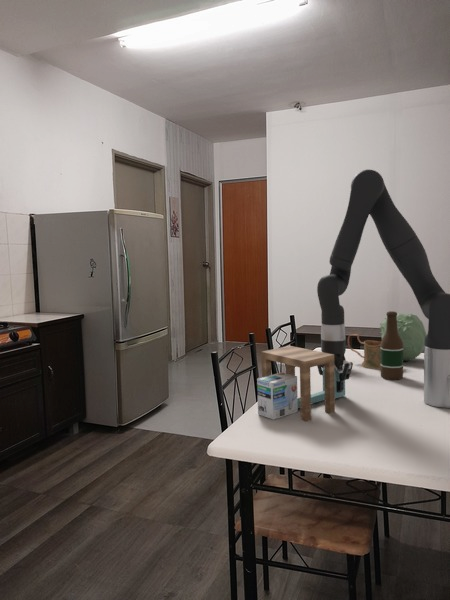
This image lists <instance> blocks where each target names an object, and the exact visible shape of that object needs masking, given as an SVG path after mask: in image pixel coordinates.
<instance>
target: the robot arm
mask: <svg viewBox="0 0 450 600" xmlns="http://www.w3.org/2000/svg"><path fill="white" fill-rule="evenodd" d="M386 186H387V185H386V184H385V181H384V178H383V176H382V174H381V173H379V172H378V171H376V170H374V169H363V170H361V171H359V172H357V173H356V174H355V175H354V177H353V178H352V180H351V182H350V193H349V200H348V205H347V208H346V213H345V216H344V219H343V222H342V225H341V227H340V230H339V232H338V235H337V236H336V240H335V243H334V245H333V248H332V250H331V254H330V257H329V264H330V265H331V268H330V272H329V274H328V275H327V274H326V275H322V277H320V279H319V281H318V283H317V288H316V290H317V291H316V293H317V298H318V302H319V307H320V309H321V327H320V344H321V345H320V349H321V350H320V352H324V353H329V354H334V370H335V374H336V379H337V381H336V386H337V392H338V393H340V392H342V391H343V390H344V380H345V381H347V380H349V379H350V376H351V372H352V370H353V367H354V366H353V365H354V363H353V362H352V361H347V359H346V355H345V353H346V350H347V349H346V341H347V340H346V339H347V338H346V327H345V309H344V306H343V305H341V303H340V296H342V295H343V294H345V292H346V290H347V289H348V286H349V283H350V278H351V273H352V266H353V263H354V260H355V258H356V256H357V253H358V249H359V247H360V243H361V240H362V236H363V233H364V229H365V226H366V223H367V221H368V217H369V216H370V217H371V218H372V219H371V220H373V222H374V224H375V228H376V230H377V232H378V235H379V237H380V239H381V240H380V241H382V244H383V246H384V247H385V248H384V249H386V251H387V253H388V255H389V257H390V258H391V260H392V261H393V263H394V264H395V266H396V268H397V269H398V271H399V272H400V273H401V275H402V276H403V278H404V279H405V281H406V283H408V285H409V286H410V288H411V291H412V293H413V295H414V297H415V298H416V300H417V303H418V305H419V307H420V310H421V312H422V314H423V315H424V317H425V318H427V319H428V324H427V325H428V327H427V328H428V329H427V333H426V334H427V336H425V339H424V350H423V352H424V353H423V354H424V355H423V356H424V357H423V402H424V403H425V404H426V405H429V406H432V407H437V408H438V407H439V408H447V409H450V293H447V292H446V291H444V289H443V287H442V286H441V285H440V283H439V282H438V281H437V279H436V278H435V276H434V274H433V271H432V269H431V265H430V261H429V259H428V255H427V252H426V249H425V247H424V245H423V243H422V241H421V240H420V239H419V237H418V235H417V233H416V231H415V230H414V229H413V227H412V226H411V225H410V223H409V222H408V221H407V219H406V218H405V216H404V215H403V214H402V213H401V211H399V209H398V208H397V207H396V205H395V203H394V202H393V199H392V197H391V195H390V194H389V191H388V189H387V187H386ZM316 367H317V369H318V374H319V375H320V376H323V369H324V364H322V365H318V366H316ZM339 369H341V370H340V371H338V370H339Z"/></svg>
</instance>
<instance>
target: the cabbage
mask: <svg viewBox="0 0 450 600" xmlns="http://www.w3.org/2000/svg"><path fill="white" fill-rule="evenodd" d="M386 326H387V316H386V317H385V318H384V321H383V322H380V324H379V329H380V330H381V331H380V332H379V334H381V339H382V338H383V337H384V335H385V334H386ZM397 330H398V335H399V336H400V338H401V339H402V342H403V362H405V361H407V362H408V361H412V360H415V359H416V358H417V357H419V356H420V355H421V354H422V353H423V352H424V339H425V336H427V334H428V333H427V331H426V329H425V325H424V322H423V321H422V320H421V319H420V318H419V316H418V315H417V314H412V313H411V314H410V313H409V314H405V313H401V312H397Z"/></svg>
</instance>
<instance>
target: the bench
mask: <svg viewBox="0 0 450 600" xmlns="http://www.w3.org/2000/svg"><path fill="white" fill-rule="evenodd" d="M272 362H277V363H281V364H284V365H285V373H286V374H290V375H294V376H296V368H299V387H300V389H299V390H300V392H299V394H300V397H299V398H300V401H301V407H300V421H303V422H310V421H312V404H311V390H312V389H311V386H312V385H311V368H313V367H317V366H318V365H322V364H324V376H325V400H324V412H325V413H328V414H333V413H335V412H336V402H335V401H336V398H335V378H334V354H329V353H324V352H322V351H318V350H313V349H309V348H308V349H307V348H302V347H299V346H293V345H287V346H281V347H277V348H273V349H267V350H263V351H261V378H262V377H266V376H269V375H272Z"/></svg>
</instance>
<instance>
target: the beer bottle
mask: <svg viewBox="0 0 450 600" xmlns="http://www.w3.org/2000/svg"><path fill="white" fill-rule="evenodd" d="M397 313H398V312H397V311H387V312H386V313H385V314H386V317H387V326H386V334H385V335H384V337H383V338H382V337H381V341H380V342H381V346H380V369H379V370H380V377H381V378H382V379H383V380H388V381H400V380H401V379H403V377H404V361H403V342H402V339H401V338H400V336H399V335H398V330H397Z"/></svg>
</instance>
